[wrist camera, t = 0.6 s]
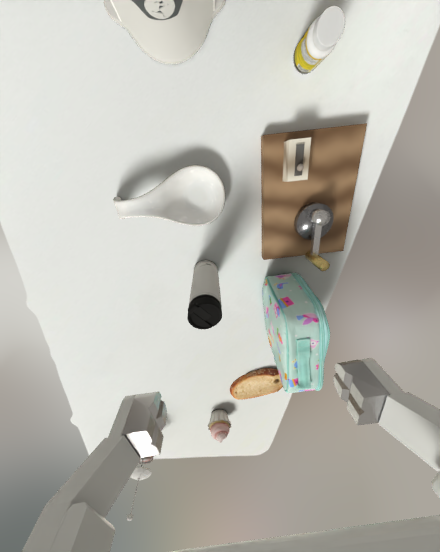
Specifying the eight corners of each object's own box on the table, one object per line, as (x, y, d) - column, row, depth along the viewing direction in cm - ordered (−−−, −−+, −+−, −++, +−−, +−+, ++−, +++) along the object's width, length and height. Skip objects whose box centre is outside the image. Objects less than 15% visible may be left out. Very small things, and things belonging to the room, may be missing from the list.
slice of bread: (226, 392, 78) (227, 402, 74) (243, 360, 70) (245, 370, 67) (268, 399, 81) (271, 409, 78) (289, 369, 74) (293, 379, 70)
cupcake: (212, 422, 85) (212, 451, 76) (204, 410, 81) (204, 439, 72) (233, 417, 85) (236, 445, 76) (226, 404, 80) (229, 433, 71)
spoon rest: (219, 161, 43) (222, 159, 36) (227, 217, 48) (230, 224, 41) (110, 180, 43) (93, 181, 37) (129, 234, 48) (117, 243, 42)
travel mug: (205, 254, 51) (203, 296, 34) (222, 270, 54) (229, 319, 36) (188, 269, 53) (178, 318, 35) (205, 285, 55) (204, 338, 38)
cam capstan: (295, 204, 45) (311, 210, 38) (331, 200, 45) (354, 205, 38) (291, 259, 51) (305, 273, 44) (323, 255, 51) (342, 268, 44)
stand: (261, 136, 41) (270, 130, 35) (359, 125, 41) (385, 117, 35) (261, 256, 52) (268, 267, 47) (338, 248, 53) (354, 257, 47)
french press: (166, 429, 86) (151, 519, 64) (149, 440, 89) (130, 529, 67) (147, 421, 83) (124, 512, 60) (130, 433, 86) (103, 524, 64)
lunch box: (297, 337, 66) (333, 404, 47) (266, 343, 67) (289, 411, 47) (295, 264, 54) (343, 314, 35) (257, 271, 55) (284, 324, 35)
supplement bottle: (316, 32, 34) (347, -7, 27) (321, 67, 36) (350, 40, 29) (289, 46, 35) (311, 11, 28) (295, 80, 37) (317, 56, 30)
